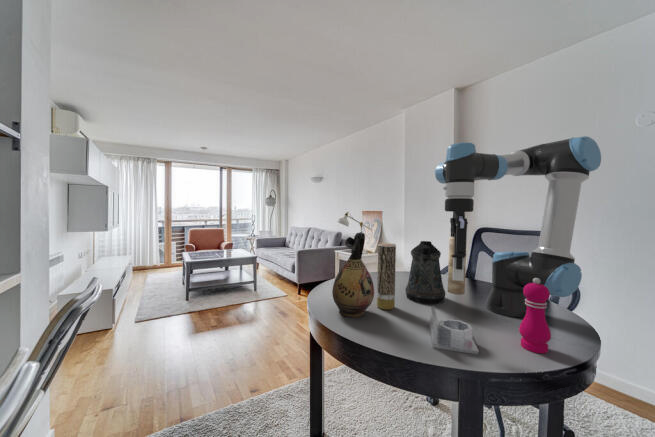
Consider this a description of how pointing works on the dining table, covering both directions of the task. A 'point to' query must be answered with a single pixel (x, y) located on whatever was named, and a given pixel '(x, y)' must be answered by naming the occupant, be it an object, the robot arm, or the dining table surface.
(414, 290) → the black tapered vessel
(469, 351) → the cup bracket
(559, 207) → the robot arm
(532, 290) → the pepper mill
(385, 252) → the paper tube
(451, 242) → the wooden spindle
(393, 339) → the dining table surface
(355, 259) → the ceramic jug
